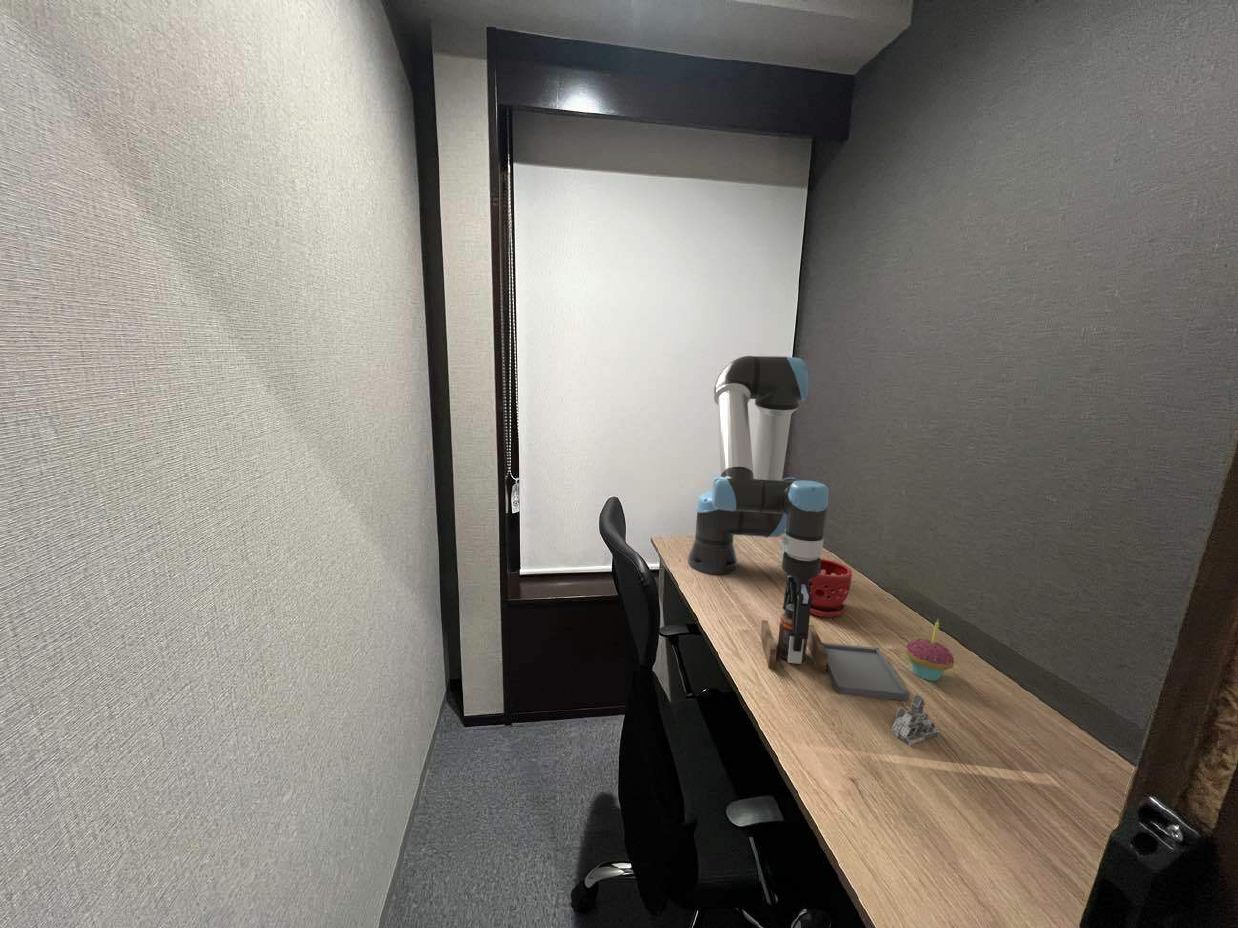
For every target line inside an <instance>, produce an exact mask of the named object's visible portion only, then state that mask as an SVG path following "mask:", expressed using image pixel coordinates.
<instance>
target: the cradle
mask: <svg viewBox="0 0 1238 928" xmlns="http://www.w3.org/2000/svg"><path fill="white" fill-rule="evenodd" d="M760 629H761V630H760V640H761V646H762V648H763V649H762V650H763V652H764V656H765V660H766V664H767V667H768V669H773V670H775V668H776V659H777V647H776V646H777V645H776V643H775V640H774V637H773V634H772V630H771V628H770V624H769V621H768V620H761V628H760ZM807 648H808V651H809V653H810V655H811V658H812V660H813V662H814V665H815V667H816V669H817V672H818V674H820V675H826V670H827V669H826V664H827V656H828V654H827V652H826V650H825V648H824V646H823V644H822V640H821V638H820V636H819V634H818V631H817V630H816V627H815V626H814V624H809V630H808V639H807Z"/></svg>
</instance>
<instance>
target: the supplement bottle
mask: <svg viewBox="0 0 1238 928" xmlns="http://www.w3.org/2000/svg"><path fill="white" fill-rule="evenodd" d="M784 612H785V611H784ZM784 612H783V613H782V614H781V615H780V619H779V626H778V627H779V630H778V637H777V638H778V639H777V645H776V646H777V647H776V649H777V651H776V653H777V654H778V655H779V656H780V657H781V658H782V659H785V660H786V661H787V660H788V651H789V642H790V636H789V634H788V632H789V633H792V622H793V604H788V605H787V607H786V612H785V613H784ZM807 648H808V646H807V639H804V644H803V653H802V661H804V659H805V657H806V655H807Z"/></svg>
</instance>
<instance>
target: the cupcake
mask: <svg viewBox="0 0 1238 928" xmlns="http://www.w3.org/2000/svg"><path fill="white" fill-rule="evenodd" d="M939 620H940V619H939V618H937V620H936V622H935V623H934V628H933V632H932V633H933V634H932V637H931V639H925V638H917V639H915V640H912V641H910V642H908V644H907V645H906V650H905V654H906V656H907V658H908V660H909V661H910V662H911V666H912V672H913V673H914V674H915V675H916V676H918V678H921V679H923V680H926V681H931V682H932V681H933V682H934V681H938V680H939V679H940V678H941V676H942V675H943V673H944V672H945V671H948V670H950V669H952V668H954V663H955V658H954V655H953V653H952V652H951V650H949V649H948V648H947V647H945V645H943V644H941V643H939V642H937V635H938V633H939V632H938V631H939V627H940V623H939Z"/></svg>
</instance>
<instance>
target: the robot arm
mask: <svg viewBox="0 0 1238 928" xmlns="http://www.w3.org/2000/svg"><path fill="white" fill-rule="evenodd" d="M808 394H809V374H808V368H807V365H806V363H805V361H804V360H803V359H801V358H799V357H794V356H793V357H791V356H774V355H773V356H770V355H769V356H767V355H766V356H764V355H761V356H760V355H759V356H754V355H743V356H739V357H738V358H736V359H734V360H732V361H730V362H729V363H728V364H727V365H726V366H725V367H724V368H722V371H721V372H720V373H719V375H718V377H717V379H716V381H715V385H714V387H713V400H714V403H715V405H717V407H718V408H717V409H718V410H717V411H718V433H719V435H718V436H719V438H718V439H719V457H720V459H719V460H720V461H719V463H720V465H719V466H720V477H719V476H718V477H715V478H714V479H713V483H712V490H709V491H705V492H704V493H702V494H700V496H699V497H698V499H697V506H696V509H695V510H696V520H695V521H696V522H695V523H696V524H695V535H694V541H693V543H692V547H691V549H690V551H689V553H688V556H687V557H688V558H687V564H688V566H689V568H691V569H693V570H695V571H697V572H700V573H704V574H709V575H727V574H731V573H734V572H736V570H737V568H738V558H737V557H738V556H737V555H736V550H735V547H734V546H735V545H734V536H747V537H760V538H765V539H767V538H778V537H780V536H782V535H783V534H785V532H784V531H785V529H786V538H785V537H782V539H781V542H782V543H783V542H784V543H785V544H784V545H783V546H784V551H785V553H783V552H782V557H783V560H782V562H781V569H782V571H783V572H785V573H786V579H785V580H786V582H785V589H784V597H783V605H782V610H783V611H784V612H783V613H785V612H786V607H787V605H788V604H793V622H792V633H789V632H788V634H789V636H790V642H789V651H788V660H786V661H787V663H789V664H796V665H798V664H799V665H802V661H803V660H802V653H803V644H804V639H808V630H809V625H810V616H811V613H810V609H811V603H812V599H813V596H812V594H809V592H810V590H811V585H810V583H809V579H811V578H814V577H816V576H818V575H819V571H820V563H821V559H822V558H821V557H822V555H823V548H824V547H823V546H824V536H825V535H824V534H825V527H826V521H827V512H828V507H829V488H828V487H827V486H828V485H826V484H824V483H822V482H819V481H815V480H814V481H813V480H804V479H803V480H800V479H798V478H796V477H784V478H783V475H784V467H785V460H786V454H787V447H788V439H789V432H790V425H791V418H792V414H793V413H794V412H795V411H796V410H799V409H798V408H799V404H800V402H803V401H806V399H807V397H808ZM751 400H754V406H755V407H756V408H757V409H758V411H759V413H758V423H757V430H756V439H755V447H754V456H753V453H752V451H753V450H752V440H751V429H750V427H751V426H750V416H749V402H750V401H751Z"/></svg>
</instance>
